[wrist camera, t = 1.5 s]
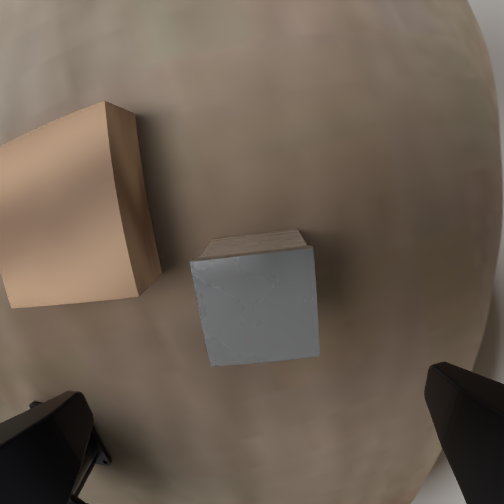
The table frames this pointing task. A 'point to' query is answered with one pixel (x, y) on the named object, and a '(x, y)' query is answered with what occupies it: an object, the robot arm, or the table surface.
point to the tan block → (76, 211)
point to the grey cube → (257, 298)
